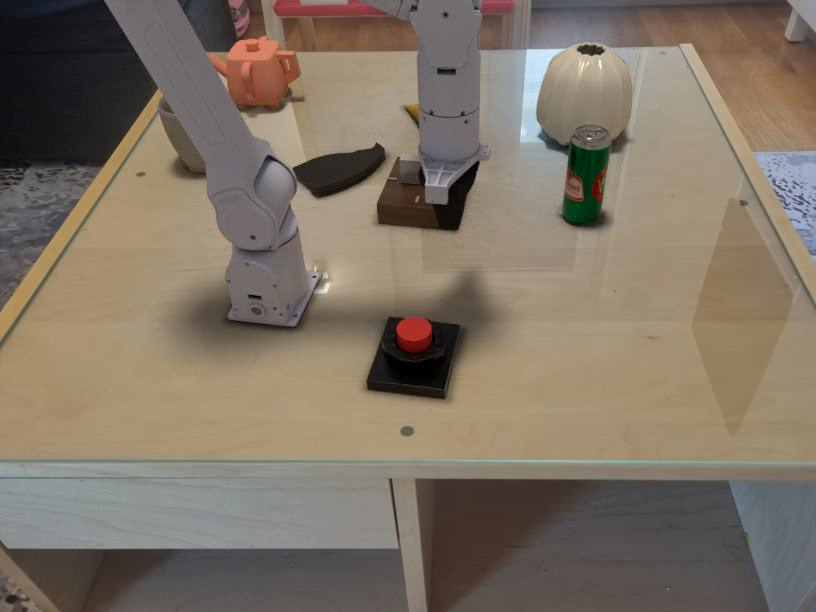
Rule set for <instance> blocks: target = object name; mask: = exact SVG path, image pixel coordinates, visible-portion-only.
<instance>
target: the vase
mask: <svg viewBox="0 0 816 612" xmlns="http://www.w3.org/2000/svg"><path fill="white" fill-rule="evenodd" d="M538 92H539V93H538V98H537V102H536V108H535V115H536V116H535V117H536V121H537V123H538V124H539V126H540V127H541V128H542V130H543V131H544V132H545V134H546V135H547V137H548V138H549V139H552V140H555V141H556V142H557V143H558V144H559V145H561V146H564V147H565V146H570V138H571V136H572V135H573V134H574V131H575V129H576V128H577V127H579V126H581V125H587V124H593V125H599V126H602V127H604V128H606V129H607V130H608V131H609V132H610V138H611V140H612V141H614V140H615V139H616V138H617V137H618V136H619V135H620V134H621V133H622V132H623V130H624V129H625V128H627V126H628V125H629V122H630V119H631V115H632V107H633V83H632V76H631V73H630V69H629V68H628V66H627V65H626V61H625V59H623V57H622V56H621V55H620V54H619V53H617V52H616V51H615V50H614V49H612V48H611V47H609V46H607V45H605V44H601V43H598V42H588V41H583V42H581V43H574V44H573V45H570V46H569V47H567V48H564V49H562V50H561V51H560V52H558V53H556V54H555V55H554V56H553V57H552V58H551V60H550V61H549V63H548V66H547V68H546V71H545V73H544V75H543V78H542V81H541V85H540V88H539V91H538Z"/></svg>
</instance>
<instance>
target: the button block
mask: <svg viewBox="0 0 816 612" xmlns="http://www.w3.org/2000/svg"><path fill="white" fill-rule="evenodd" d="M406 318H407V317H399V316H388V318H387V321H386V324H385V327H384V330H383V332H382V335H381V338H380V341H379V344H378V346H377V350H376V353H375V355H374V358H373V360H372V364H371V367H370V369H369V372H368V375H367V377H366V388H367V389H369V390H375V391H376V390H377V391H385V392H391V393H399V394H400V393H401V394H408V395H416V396H424V397H432V398H433V397H434V398H441V399H445V398H446V393H447V389H448V386H449V381H450V378H451V373H452V369H453V366H454V365H453V364H454V361H455V357H456V352H457V349H458V344H459V339H460V335H461V330H462V329H461V328H462V327H461V326H462V325H461V324H460V323H453V322H452V323H451V322H443V321H435V320H431V319H429V318H424V319H425V320H427V321H428V322H429V323H430V324H431V327H432V344H431V345H430V347H429V348H428V349H426V350H425V351H422V352H419V353H410V352H406V351H404V350H402V349H401V348H400V347H399V346H398V343H397V331H396V328H397V325H398V324H399V323H400V322H401V321H402V320H404V319H406Z"/></svg>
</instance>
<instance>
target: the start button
mask: <svg viewBox="0 0 816 612" xmlns="http://www.w3.org/2000/svg"><path fill="white" fill-rule="evenodd" d="M405 318H406V319H404V320H402V321H401V322H400V323H399V324H398V325H397V328H396V331H397V343H398V346H399V347H400V348H401V349H402V350H404V351H406V352H410V353H419V352H422V351H425V350H426V349H428V348H429V347H430V345H431V344H432V327H431V324H430V323H429V322H428V321H427V320H425V319H426V318H423V317H419V316H410V317H405Z"/></svg>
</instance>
